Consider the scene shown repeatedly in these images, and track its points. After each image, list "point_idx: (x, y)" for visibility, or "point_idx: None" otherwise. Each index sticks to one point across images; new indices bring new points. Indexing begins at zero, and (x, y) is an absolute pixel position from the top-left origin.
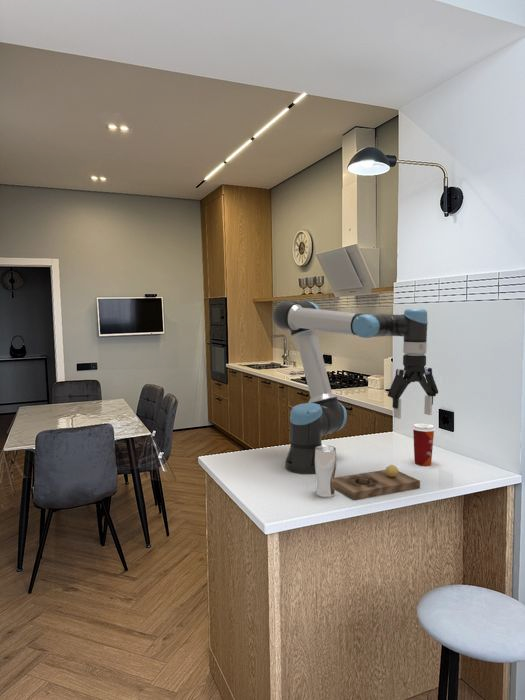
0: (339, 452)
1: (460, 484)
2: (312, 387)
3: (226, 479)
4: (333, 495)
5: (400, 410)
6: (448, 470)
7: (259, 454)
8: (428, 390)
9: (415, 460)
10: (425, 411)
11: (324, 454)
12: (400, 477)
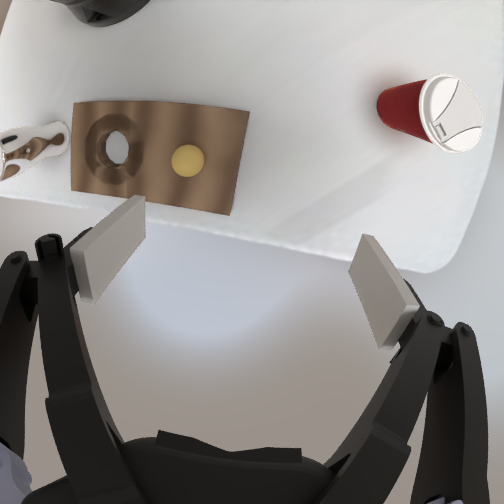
0: None
1: (326, 245)
2: None
3: (4, 31)
4: (61, 153)
5: (123, 259)
6: (395, 179)
7: None
8: (381, 383)
9: (381, 96)
10: (364, 248)
11: None
12: (206, 173)
